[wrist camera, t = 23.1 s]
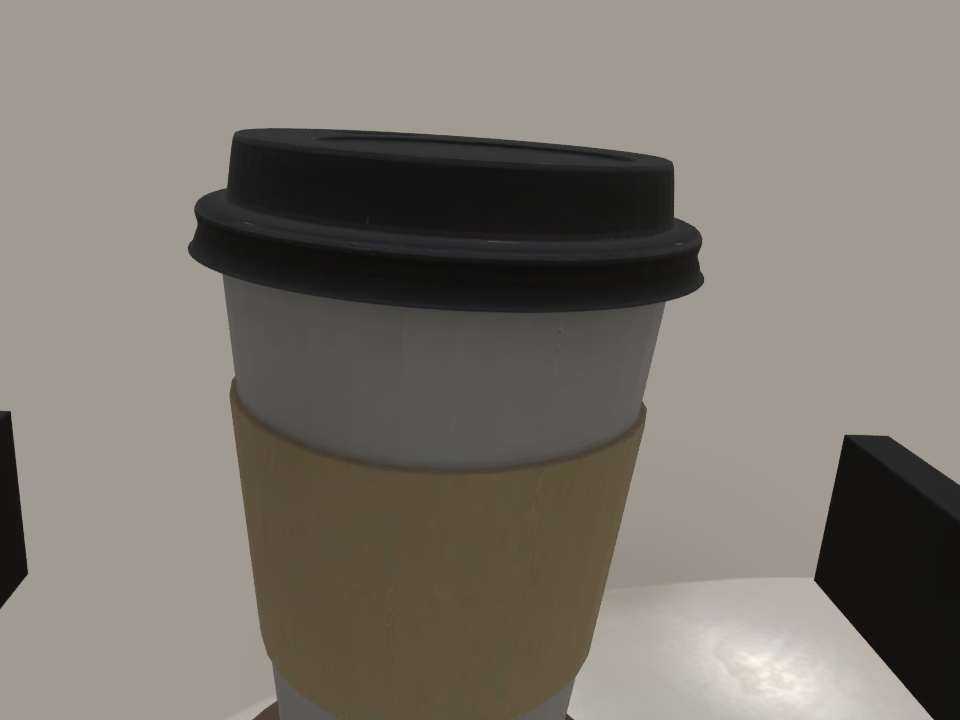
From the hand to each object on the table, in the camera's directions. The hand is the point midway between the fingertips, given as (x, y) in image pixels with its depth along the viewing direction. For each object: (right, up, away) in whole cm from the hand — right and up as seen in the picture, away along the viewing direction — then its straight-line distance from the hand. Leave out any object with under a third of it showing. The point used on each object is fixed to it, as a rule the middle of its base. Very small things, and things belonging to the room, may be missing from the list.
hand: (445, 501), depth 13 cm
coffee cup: (-1, -8, +6) cm, 10 cm away
